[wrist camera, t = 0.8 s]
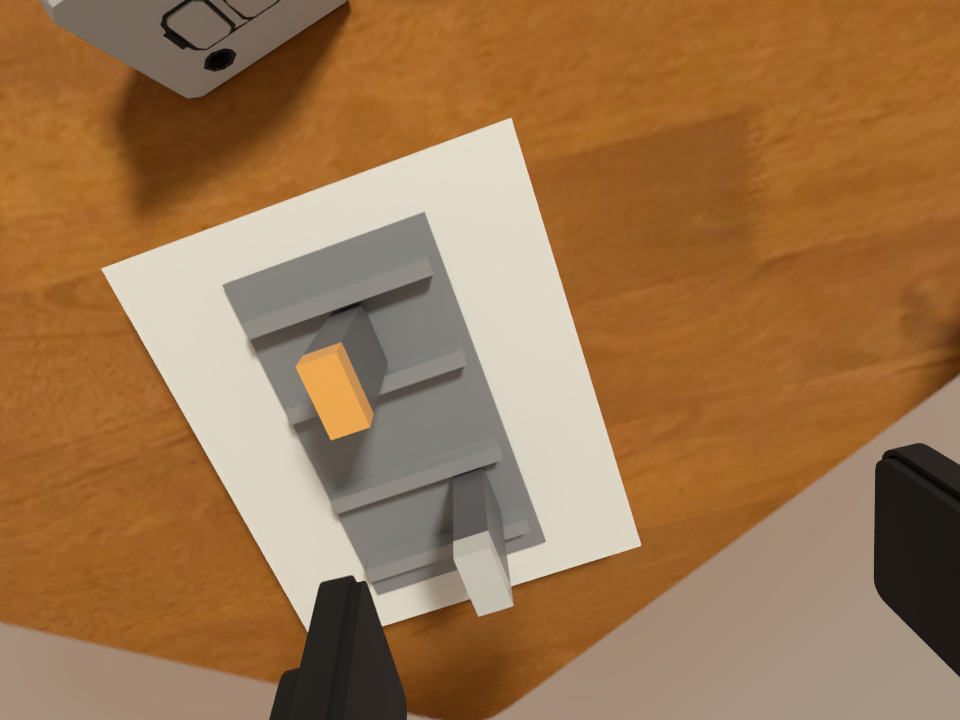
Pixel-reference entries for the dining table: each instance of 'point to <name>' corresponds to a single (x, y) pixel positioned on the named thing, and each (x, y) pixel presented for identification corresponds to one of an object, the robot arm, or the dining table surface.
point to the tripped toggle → (344, 371)
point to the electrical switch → (187, 34)
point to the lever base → (394, 382)
